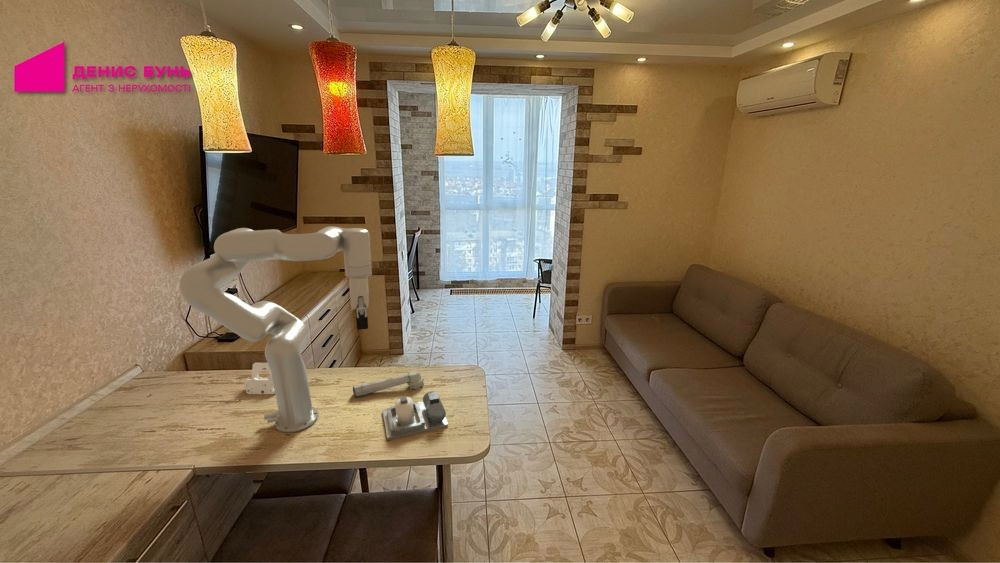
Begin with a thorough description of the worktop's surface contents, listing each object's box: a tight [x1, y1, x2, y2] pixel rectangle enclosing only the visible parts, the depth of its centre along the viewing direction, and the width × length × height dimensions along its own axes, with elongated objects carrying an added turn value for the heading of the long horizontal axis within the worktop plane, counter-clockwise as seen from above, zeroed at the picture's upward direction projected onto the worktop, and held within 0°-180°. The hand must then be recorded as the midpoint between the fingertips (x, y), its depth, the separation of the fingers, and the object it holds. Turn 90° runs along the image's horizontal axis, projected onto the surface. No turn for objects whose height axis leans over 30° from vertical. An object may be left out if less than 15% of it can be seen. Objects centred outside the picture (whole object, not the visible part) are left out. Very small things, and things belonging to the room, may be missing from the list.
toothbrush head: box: [352, 370, 425, 398], centre depth 145 cm, size 5×7×25 cm
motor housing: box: [382, 390, 449, 441], centre depth 128 cm, size 19×15×8 cm
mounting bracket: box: [243, 362, 276, 395], centre depth 145 cm, size 12×6×11 cm, turn 91°
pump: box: [394, 396, 414, 426], centre depth 126 cm, size 6×6×8 cm
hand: (361, 322), depth 122 cm, fingers open, 9 cm apart
